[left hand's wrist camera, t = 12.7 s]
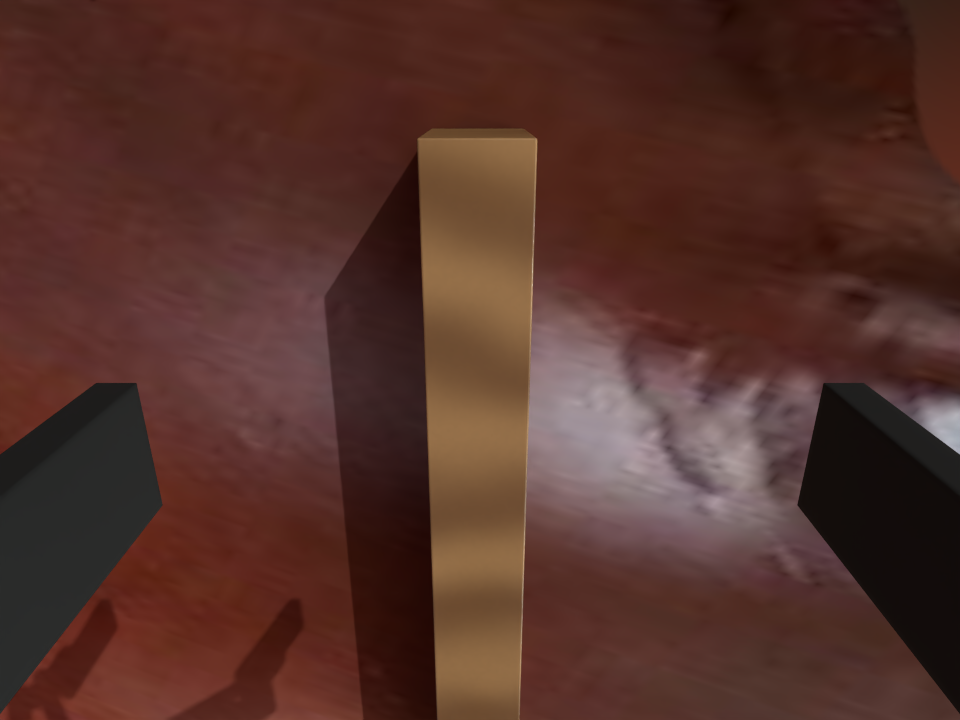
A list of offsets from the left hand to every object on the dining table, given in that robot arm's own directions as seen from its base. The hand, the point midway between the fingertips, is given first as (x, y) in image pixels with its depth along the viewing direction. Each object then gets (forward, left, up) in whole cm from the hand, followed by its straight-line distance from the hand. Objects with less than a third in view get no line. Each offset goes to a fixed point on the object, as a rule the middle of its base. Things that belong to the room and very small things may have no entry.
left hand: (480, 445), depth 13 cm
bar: (+19, -21, -26) cm, 38 cm away
